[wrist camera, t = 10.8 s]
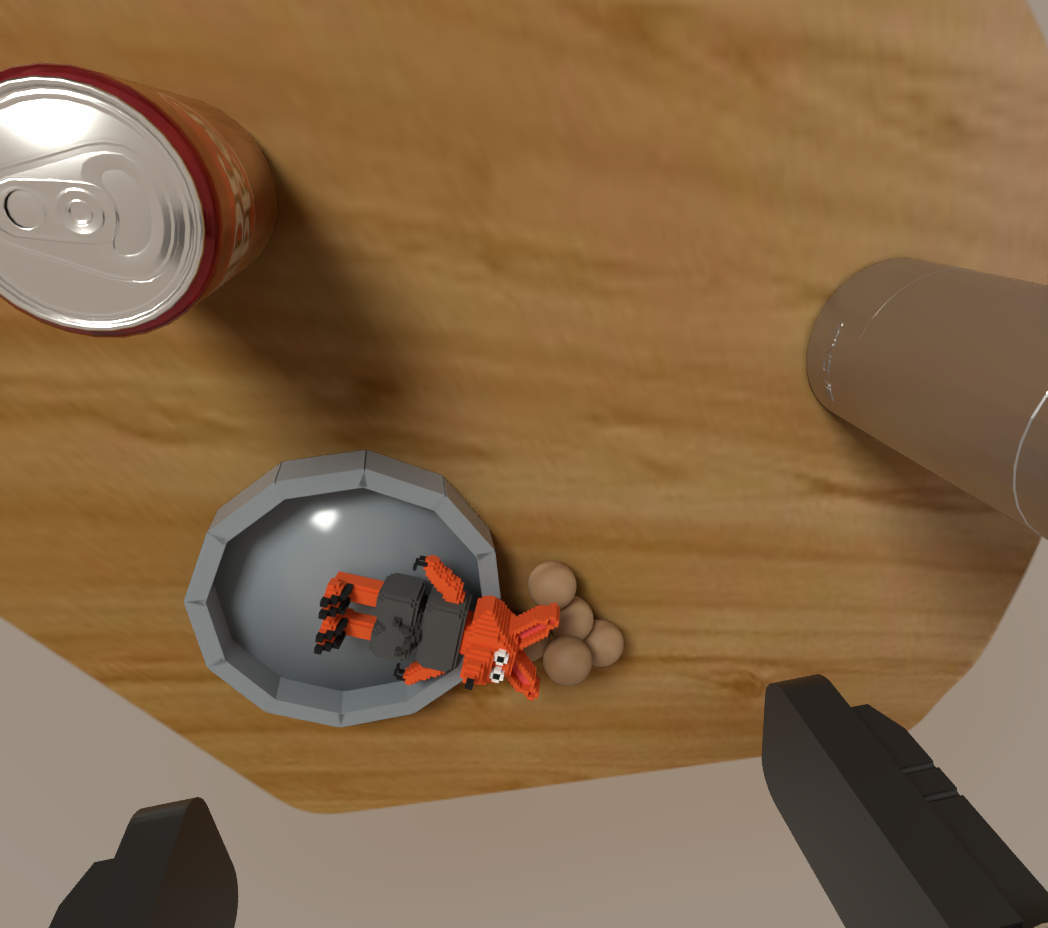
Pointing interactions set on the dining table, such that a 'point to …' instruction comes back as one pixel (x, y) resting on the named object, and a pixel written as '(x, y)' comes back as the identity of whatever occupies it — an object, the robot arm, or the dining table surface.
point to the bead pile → (570, 628)
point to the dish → (327, 581)
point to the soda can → (121, 200)
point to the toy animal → (435, 627)
